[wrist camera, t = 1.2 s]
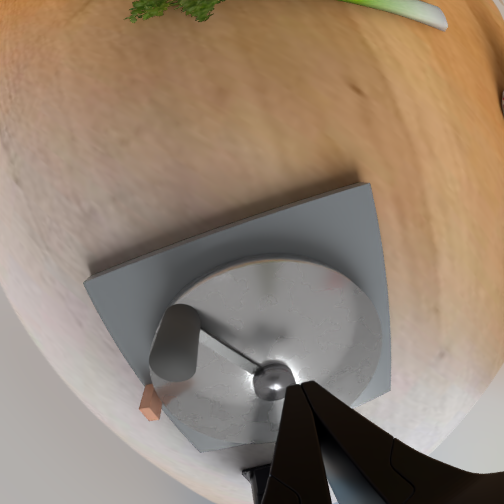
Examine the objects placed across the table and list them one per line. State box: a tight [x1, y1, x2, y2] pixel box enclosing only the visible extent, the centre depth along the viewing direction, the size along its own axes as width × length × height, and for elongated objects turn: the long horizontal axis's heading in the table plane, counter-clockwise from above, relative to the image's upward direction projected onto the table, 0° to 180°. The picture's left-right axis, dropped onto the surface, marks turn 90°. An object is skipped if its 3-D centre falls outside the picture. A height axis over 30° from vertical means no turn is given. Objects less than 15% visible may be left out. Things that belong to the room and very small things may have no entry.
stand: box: [83, 182, 391, 453], centre depth 20 cm, size 22×22×4 cm
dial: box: [149, 253, 382, 444], centre depth 17 cm, size 18×18×6 cm
